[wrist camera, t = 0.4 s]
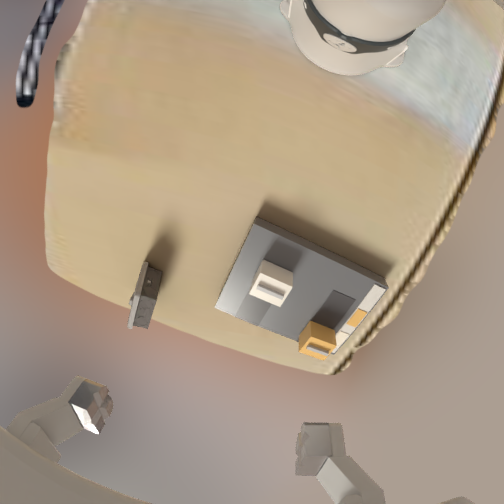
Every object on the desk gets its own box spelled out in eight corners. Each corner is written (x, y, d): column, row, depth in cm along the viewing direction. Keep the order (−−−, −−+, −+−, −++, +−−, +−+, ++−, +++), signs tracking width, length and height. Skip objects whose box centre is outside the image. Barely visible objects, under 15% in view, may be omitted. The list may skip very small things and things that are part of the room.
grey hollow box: (145, 258, 50) (125, 288, 42) (170, 269, 51) (155, 301, 43) (135, 294, 55) (118, 325, 47) (158, 304, 56) (144, 337, 48)
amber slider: (310, 320, 48) (311, 338, 44) (334, 330, 48) (337, 348, 44) (298, 335, 50) (298, 354, 46) (322, 344, 50) (324, 363, 46)
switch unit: (256, 216, 44) (253, 224, 41) (384, 277, 46) (389, 288, 43) (218, 297, 52) (214, 308, 49) (332, 343, 54) (334, 355, 51)
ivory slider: (263, 259, 44) (259, 275, 40) (293, 272, 44) (292, 289, 40) (252, 279, 46) (248, 296, 41) (281, 291, 46) (279, 309, 42)
